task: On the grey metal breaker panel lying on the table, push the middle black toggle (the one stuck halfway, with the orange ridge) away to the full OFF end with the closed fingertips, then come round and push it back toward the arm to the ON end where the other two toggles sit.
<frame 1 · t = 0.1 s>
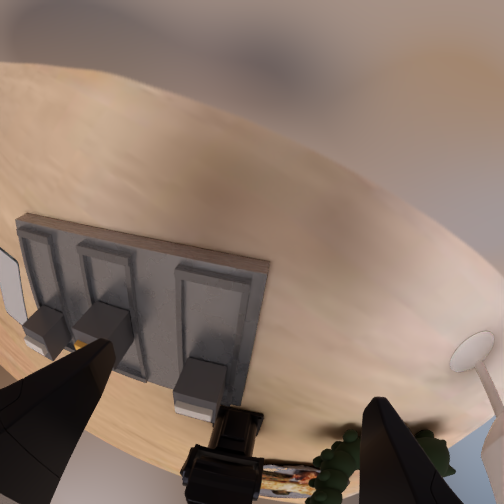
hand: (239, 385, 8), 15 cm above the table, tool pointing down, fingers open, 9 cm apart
breaker mid: (102, 337, 24), point 5 cm above the table, slide at 0.0 cm
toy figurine: (388, 432, 32), on the table
breaker 1: (200, 393, 25), point 5 cm above the table, slide at -4.0 cm
breaker 2: (45, 334, 26), point 5 cm above the table, slide at -4.0 cm
champagne flute: (472, 351, 24), on the table
food plate: (288, 477, 44), on the table
panel: (124, 309, 28), on the table
smartphone: (13, 288, 32), on the table
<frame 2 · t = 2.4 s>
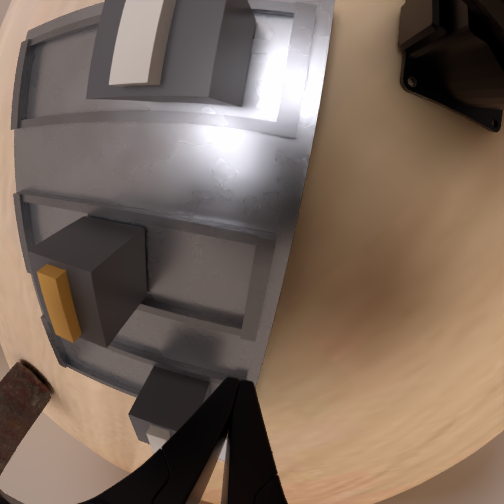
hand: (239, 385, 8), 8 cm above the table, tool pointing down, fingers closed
breaker mid: (87, 279, 12), point 5 cm above the table, slide at 0.0 cm
breaker 1: (176, 44, 7), point 5 cm above the table, slide at -4.0 cm
breaker 2: (171, 416, 16), point 5 cm above the table, slide at -4.0 cm
candle: (37, 375, 29), on the table
panel: (133, 240, 16), on the table
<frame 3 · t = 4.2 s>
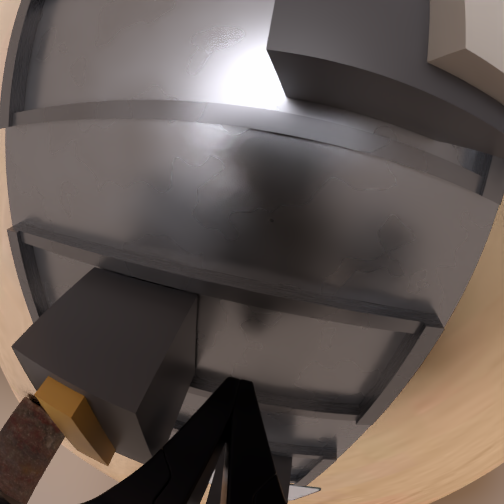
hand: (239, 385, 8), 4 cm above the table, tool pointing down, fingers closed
breaker mid: (112, 374, 7), point 5 cm above the table, slide at 1.6 cm, touching gripper
breaker 1: (418, 10, 3), point 5 cm above the table, slide at -4.0 cm
breaker 2: (245, 494, 12), point 5 cm above the table, slide at -4.0 cm
candle: (48, 410, 25), on the table
panel: (202, 302, 12), on the table
smartphone: (245, 479, 23), on the table
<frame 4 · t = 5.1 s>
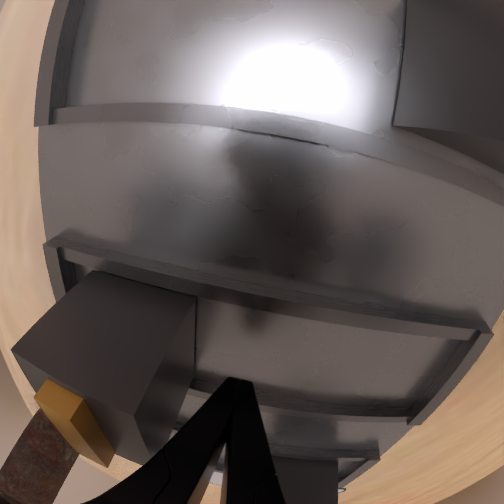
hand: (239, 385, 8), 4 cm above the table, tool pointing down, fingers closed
breaker mid: (111, 377, 7), point 5 cm above the table, slide at 4.4 cm, touching gripper
breaker 2: (292, 500, 11), point 5 cm above the table, slide at -4.0 cm
candle: (64, 421, 25), on the table
panel: (266, 318, 11), on the table
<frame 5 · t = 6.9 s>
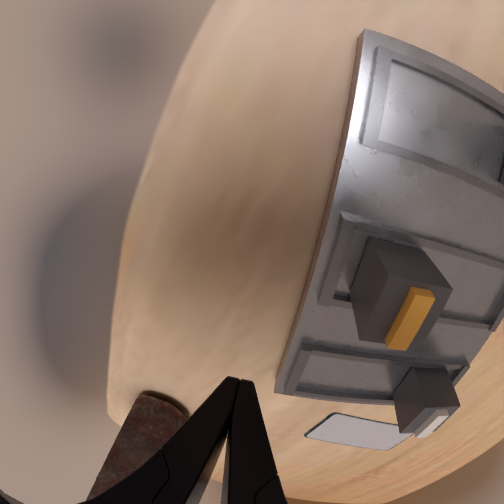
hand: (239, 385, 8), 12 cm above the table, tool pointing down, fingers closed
breaker mid: (398, 295, 14), point 5 cm above the table, slide at 4.4 cm
breaker 2: (425, 403, 18), point 5 cm above the table, slide at -4.0 cm
candle: (165, 405, 32), on the table
panel: (429, 268, 18), on the table
smartphone: (364, 430, 29), on the table
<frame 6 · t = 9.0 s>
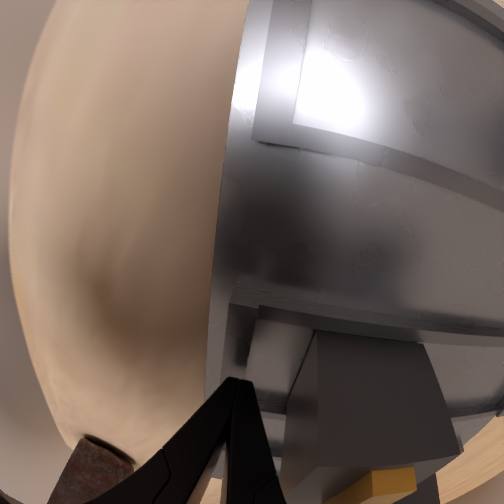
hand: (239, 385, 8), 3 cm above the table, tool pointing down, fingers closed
breaker mid: (359, 437, 7), point 5 cm above the table, slide at 3.6 cm, touching gripper
breaker 2: (396, 499, 11), point 5 cm above the table, slide at -4.0 cm
candle: (110, 449, 24), on the table
panel: (417, 346, 11), on the table
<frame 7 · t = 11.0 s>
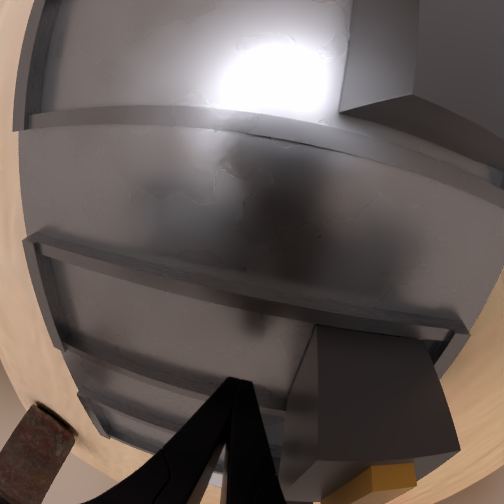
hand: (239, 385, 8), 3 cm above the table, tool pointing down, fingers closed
breaker mid: (359, 433, 7), point 5 cm above the table, slide at -4.8 cm, touching gripper
breaker 1: (480, 45, 2), point 5 cm above the table, slide at -4.0 cm
breaker 2: (269, 500, 11), point 5 cm above the table, slide at -4.0 cm
candle: (56, 418, 25), on the table
panel: (232, 314, 11), on the table
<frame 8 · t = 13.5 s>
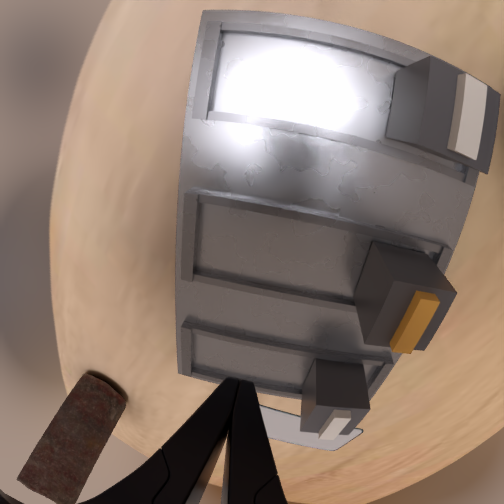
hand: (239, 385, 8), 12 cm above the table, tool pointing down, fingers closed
breaker mid: (402, 299, 14), point 5 cm above the table, slide at -4.9 cm
breaker 1: (444, 115, 10), point 5 cm above the table, slide at -4.0 cm
breaker 2: (333, 401, 19), point 5 cm above the table, slide at -4.0 cm
candle: (106, 386, 32), on the table
panel: (317, 246, 19), on the table
smartphone: (300, 427, 30), on the table
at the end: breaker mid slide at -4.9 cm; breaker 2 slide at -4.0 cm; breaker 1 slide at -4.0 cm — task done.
